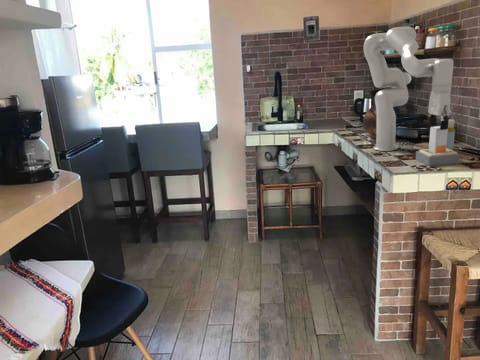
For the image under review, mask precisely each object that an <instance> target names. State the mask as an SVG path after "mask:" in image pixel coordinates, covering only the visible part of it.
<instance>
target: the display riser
mask: <svg viewBox="0 0 480 360" xmlns="http://www.w3.org/2000/svg"><path fill="white" fill-rule="evenodd" d="M415 161H418V162H420V163H422V164H424V165H426V166H428V167H432V166H433V167H434V166H443V165H452V164H460V162H461V153H459V152H457V151H455V150H454V149H453V150H450V149H447V148H446V153H438V154H432V153H429V148H425V149H424V148H423V149H419V150H416V151H415Z"/></svg>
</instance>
